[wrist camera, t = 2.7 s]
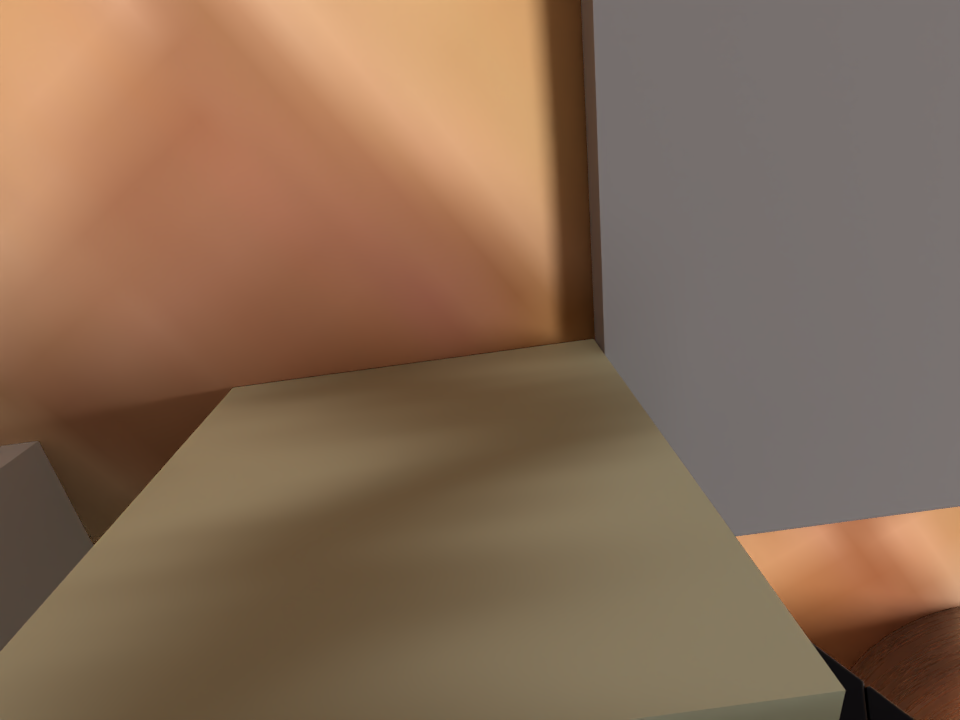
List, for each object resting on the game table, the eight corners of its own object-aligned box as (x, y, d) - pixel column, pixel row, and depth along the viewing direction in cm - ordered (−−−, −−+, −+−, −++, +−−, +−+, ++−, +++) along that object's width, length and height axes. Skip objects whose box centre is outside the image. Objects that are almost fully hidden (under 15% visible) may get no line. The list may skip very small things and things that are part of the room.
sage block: (593, 338, 9) (845, 691, 3) (605, 605, 11) (761, 1076, 5) (233, 387, 9) (-153, 824, 3) (321, 642, 11) (190, 1151, 5)
